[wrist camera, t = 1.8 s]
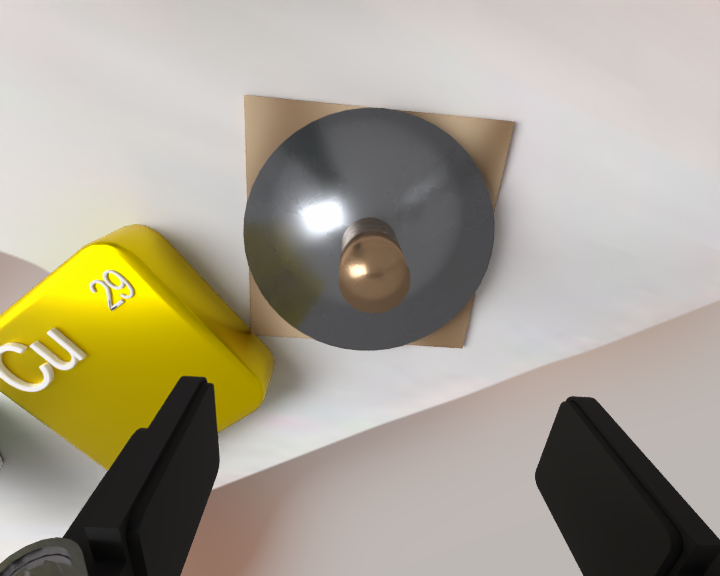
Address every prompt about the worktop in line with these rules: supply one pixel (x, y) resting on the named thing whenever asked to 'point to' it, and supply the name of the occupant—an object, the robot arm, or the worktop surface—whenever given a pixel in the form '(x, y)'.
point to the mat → (284, 117)
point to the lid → (368, 229)
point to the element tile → (125, 343)
